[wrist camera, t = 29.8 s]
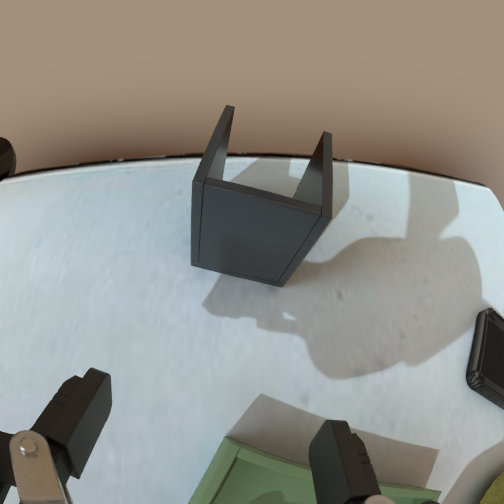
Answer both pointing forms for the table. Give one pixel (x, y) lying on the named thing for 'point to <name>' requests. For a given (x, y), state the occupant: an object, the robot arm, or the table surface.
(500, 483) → the green round disc
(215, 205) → the holder
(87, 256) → the table surface
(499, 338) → the phone
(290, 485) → the tray
